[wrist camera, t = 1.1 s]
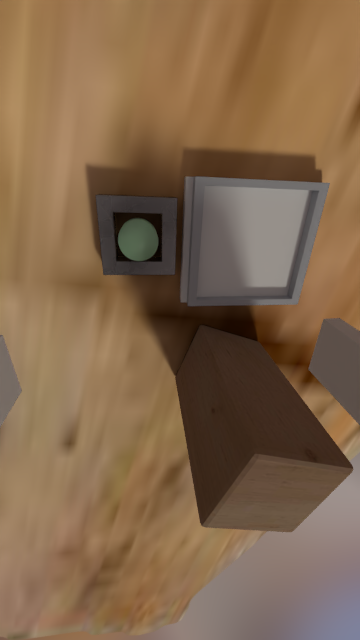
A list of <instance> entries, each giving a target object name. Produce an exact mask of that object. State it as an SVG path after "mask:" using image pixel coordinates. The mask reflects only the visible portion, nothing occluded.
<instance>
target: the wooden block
mask: <svg viewBox="0 0 360 640" xmlns="http://www.w3.org/2000/svg"><path fill="white" fill-rule="evenodd" d="M175 378H176V385H177V391H178V396H179V402H180V408H181V414H182V420H183V425H184V431H185V437H186V443H187V449H188V454H189V460H190V466H191V472H192V478H193V484H194V489H195V495H196V501H197V507H198V513H199V518H200V523H201V525H202V526H203V527H209V528H226V529H243V530H260V531H277V532H292V531H294V530H295V529H296V528H297V527H298V526H299V525H300V524H301V523H302V522H303V521H304V519H306V518H307V517H308V516H309V515H310V514H311V513H312V512H313V510H315V509H316V508H317V506H319V504H321V503H322V502H323V501H324V500H325V499H326V498H327V496H329V495H330V494H331V492H332V491H334V490H335V488H337V487H338V485H340V484H341V483H342V482H343V481H344V479H346V477H347V476H348V475H350V474H351V473H352V471H353V467H352V465H351V463H350V462H349V461H348V459H347V458H346V457H345V455H344V454H343V453H342V451H341V450H340V449H339V447H338V446H337V445H336V443H335V442H334V441H333V439H332V438H331V437H330V435H329V434H328V433H327V431H326V430H325V429H324V427H323V426H322V425H321V423H320V422H319V421H318V420H317V418H316V417H315V416H314V414H313V413H312V412H311V410H310V409H309V408H308V406H307V405H306V404H305V402H304V401H303V400H302V398H301V397H300V396H299V394H298V393H297V392H296V390H295V389H294V388H293V386H292V385H291V384H290V382H289V381H288V380H287V378H286V377H285V376H284V375H283V373H282V372H281V371H280V369H279V368H278V367H277V365H276V364H275V363H274V361H273V360H272V359H271V357H270V356H269V355H268V353H267V352H266V351H265V349H264V348H263V347H262V345H261V344H260V343H259V342H258V341H254V340H251V339H248V338H244V337H241V336H238V335H234V334H231V333H228V332H224V331H221V330H218V329H214V328H211V327H208V326H204V325H200V326H199V328H198V330H197V332H196V335H195V337H194V339H193V341H192V343H191V345H190V347H189V349H188V352H187V354H186V356H185V358H184V360H183V362H182V364H181V366H180V369H179V371H178V373H177V375H176V377H175Z"/></svg>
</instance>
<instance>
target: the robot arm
mask: <svg viewBox="0 0 360 640" xmlns="http://www.w3.org/2000/svg"><path fill="white" fill-rule="evenodd" d="M309 370H310V372H311V373H312V374H313V375H314V376H315V377H316V378H317V379H318V380H319V381H320V382H321V384H322V385H323V386H324V387H325V388H326V389H327V390H328V391H329V392H330V393H331V394H332V395H333V397H334V398H335V399H336V400H337V401H338V402H339V403H340V404H341V405H342V406H343V407H344V409H345V410H346V411H347V412H348V413H349V414H350V415H351V416H352V417H353V418H354V419H355V420H356V422H357V423H358V424H359V425H360V331H358V330H357V329H355V328H354V327H352V326H351V325H349V324H348V323H346V322H345V321H343V320H342V319H340V318H333V319H324V320H323V323H322V326H321V330H320V333H319V336H318V339H317V343H316V346H315V349H314V353H313V356H312V359H311V363H310V366H309ZM21 391H22V390H21V387H20V384H19V381H18V378H17V375H16V373H15V370H14V367H13V364H12V361H11V358H10V355H9V352H8V349H7V346H6V344H5V341H4V338H3V335H0V427H1V425H2V423H3V422H4V420H5V418H6V417H7V415H8V413H9V411H10V410H11V408H12V406H13V405H14V403H15V401H16V400H17V398H18V396H19V395H20V393H21Z"/></svg>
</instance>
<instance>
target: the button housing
mask: <svg viewBox="0 0 360 640" xmlns="http://www.w3.org/2000/svg"><path fill="white" fill-rule="evenodd" d="M96 204H97V214H98V224H99V234H100V244H101V254H102V264H103V275H175V256H176V223H177V198H175V197H153V196H127V195H102V194H99V195H96ZM115 212H126V213H159V214H161V257H151V258H149V259H147V260H144V261H134V260H131V259H129V258H128V257H126V256H118V247H117V233H116V218H115Z"/></svg>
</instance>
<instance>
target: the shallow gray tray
mask: <svg viewBox="0 0 360 640" xmlns="http://www.w3.org/2000/svg"><path fill="white" fill-rule="evenodd" d="M329 184H330V183H318V182H298V181H278V180H258V179H238V178H218V177H198V176H195V177H187V176H186V177H185V178H184V202H183V227H182V252H181V277H180V302H187V305H188V306H230V305H288V304H298V301H299V297H300V293H301V289H302V286H303V282H304V278H305V274H306V271H307V267H308V263H309V259H310V256H311V252H312V248H313V244H314V241H315V237H316V233H317V229H318V226H319V222H320V218H321V214H322V211H323V207H324V203H325V199H326V196H327V192H328V188H329Z"/></svg>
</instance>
